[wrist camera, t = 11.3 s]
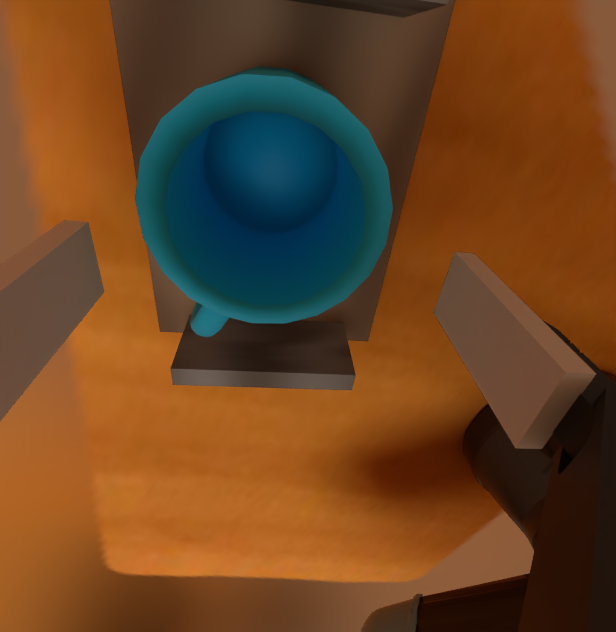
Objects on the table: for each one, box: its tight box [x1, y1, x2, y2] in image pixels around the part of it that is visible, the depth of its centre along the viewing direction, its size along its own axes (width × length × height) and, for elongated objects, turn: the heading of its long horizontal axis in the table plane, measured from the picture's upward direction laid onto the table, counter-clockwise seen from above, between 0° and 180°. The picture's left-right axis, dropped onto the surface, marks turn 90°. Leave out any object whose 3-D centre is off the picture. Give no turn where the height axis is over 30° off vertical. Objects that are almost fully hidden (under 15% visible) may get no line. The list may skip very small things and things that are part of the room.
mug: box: [135, 66, 393, 337], centre depth 16 cm, size 12×8×8 cm
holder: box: [109, 0, 455, 390], centre depth 18 cm, size 14×19×6 cm
